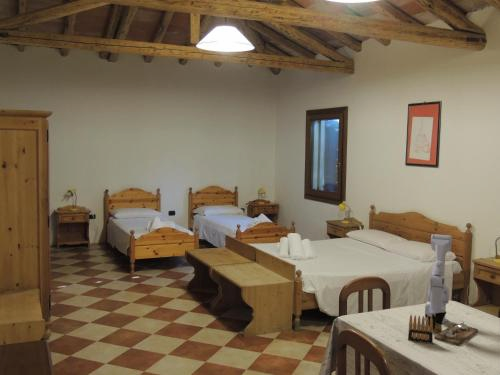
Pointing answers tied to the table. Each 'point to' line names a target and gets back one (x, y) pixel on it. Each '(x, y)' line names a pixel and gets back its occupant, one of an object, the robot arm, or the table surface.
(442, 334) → the gear board
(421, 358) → the table surface
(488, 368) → the table surface
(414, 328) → the ammunition clip
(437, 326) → the wooden gear
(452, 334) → the mounted gears
